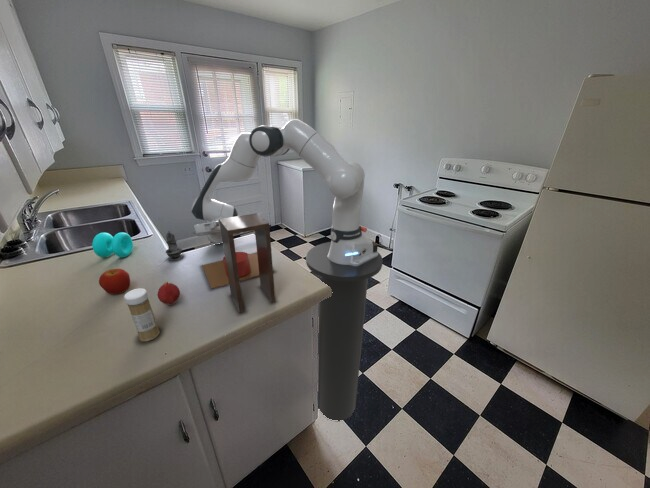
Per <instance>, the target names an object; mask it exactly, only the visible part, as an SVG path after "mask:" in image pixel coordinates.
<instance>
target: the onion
mask: <svg viewBox="0 0 650 488" xmlns="http://www.w3.org/2000/svg"><path fill="white" fill-rule="evenodd" d="M156 296H157V298H158V300H159V302H160V303H162V304H165V305H170V306H171V305H174V304H175V303H176V302H177V301H178V299H179V298H180V296H181V290H180V288H179V287H178V286H177V285H176V284H175V283H170V282H169V281H165V282H164V283H163V284H162V285H161V286H160V287H159V288H158V291H157V295H156Z"/></svg>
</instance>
